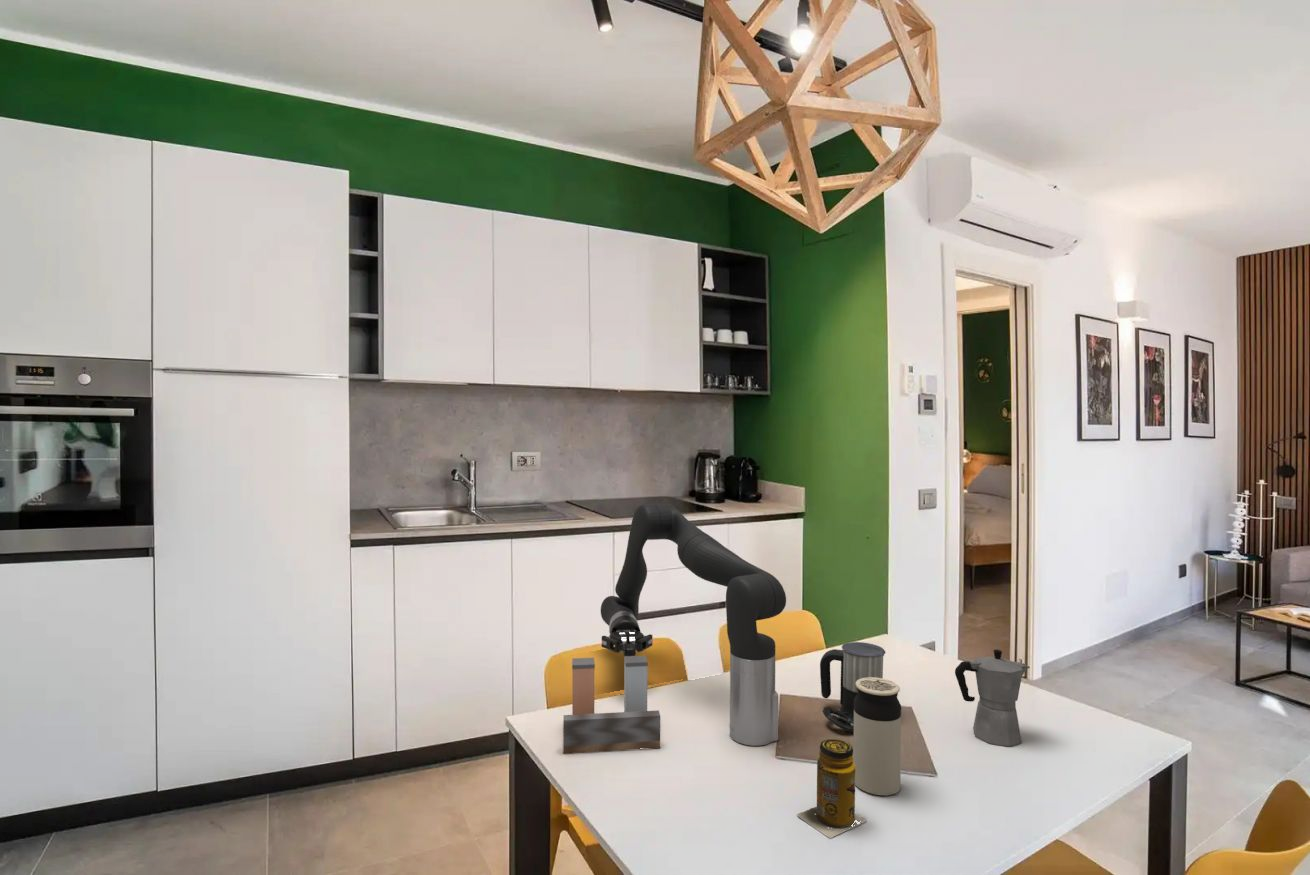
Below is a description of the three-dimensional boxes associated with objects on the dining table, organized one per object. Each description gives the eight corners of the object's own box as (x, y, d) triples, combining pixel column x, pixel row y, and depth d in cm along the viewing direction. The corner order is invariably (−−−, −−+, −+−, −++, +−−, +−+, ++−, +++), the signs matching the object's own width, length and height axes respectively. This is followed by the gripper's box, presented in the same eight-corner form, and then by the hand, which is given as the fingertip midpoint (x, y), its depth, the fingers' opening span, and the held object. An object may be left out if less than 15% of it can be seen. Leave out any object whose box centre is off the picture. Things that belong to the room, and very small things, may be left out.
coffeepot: (1015, 726, 144) (1016, 642, 144) (1042, 747, 135) (1043, 657, 135) (944, 727, 144) (944, 642, 143) (966, 748, 134) (966, 658, 134)
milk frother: (879, 706, 154) (879, 642, 154) (896, 738, 138) (897, 666, 138) (815, 703, 156) (816, 639, 155) (825, 735, 140) (826, 664, 140)
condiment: (866, 821, 109) (867, 748, 109) (830, 839, 105) (830, 762, 104) (831, 800, 115) (832, 731, 115) (796, 816, 111) (796, 744, 111)
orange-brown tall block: (593, 717, 144) (594, 657, 143) (594, 725, 140) (594, 664, 139) (572, 718, 143) (572, 658, 143) (572, 727, 139) (572, 665, 139)
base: (651, 717, 148) (651, 688, 148) (660, 748, 134) (660, 715, 134) (564, 722, 145) (564, 692, 145) (563, 753, 131) (563, 720, 131)
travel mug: (894, 802, 115) (895, 697, 115) (847, 788, 119) (848, 687, 119) (904, 781, 122) (905, 682, 121) (860, 769, 126) (860, 673, 126)
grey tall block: (645, 714, 145) (645, 655, 145) (647, 723, 141) (647, 662, 141) (623, 715, 144) (624, 656, 144) (625, 724, 140) (625, 663, 140)
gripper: (598, 615, 170) (601, 638, 153) (650, 614, 172) (659, 636, 155) (598, 645, 171) (601, 671, 154) (650, 643, 172) (658, 669, 155)
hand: (630, 653), depth 154 cm, fingers closed
